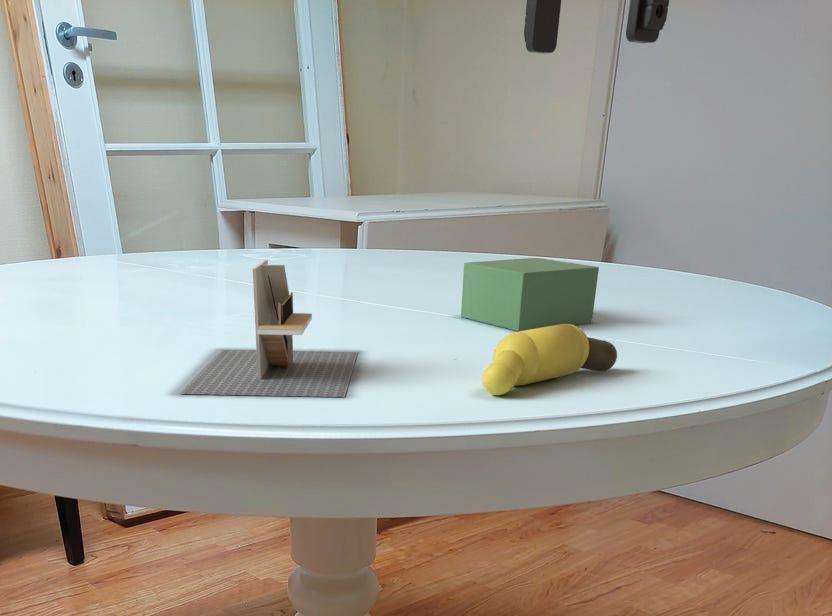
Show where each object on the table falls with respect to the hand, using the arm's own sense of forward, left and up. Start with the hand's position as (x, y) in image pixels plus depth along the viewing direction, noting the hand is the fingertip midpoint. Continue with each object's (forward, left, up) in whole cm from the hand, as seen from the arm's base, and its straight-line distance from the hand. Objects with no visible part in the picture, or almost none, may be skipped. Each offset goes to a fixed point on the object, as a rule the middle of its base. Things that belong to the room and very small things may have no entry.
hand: (587, 47), depth 57 cm
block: (-6, -22, -20) cm, 30 cm away
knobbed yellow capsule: (+2, +2, -20) cm, 20 cm away
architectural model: (+20, -4, -21) cm, 29 cm away
